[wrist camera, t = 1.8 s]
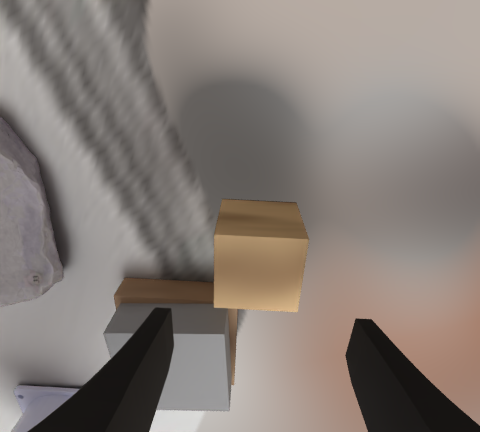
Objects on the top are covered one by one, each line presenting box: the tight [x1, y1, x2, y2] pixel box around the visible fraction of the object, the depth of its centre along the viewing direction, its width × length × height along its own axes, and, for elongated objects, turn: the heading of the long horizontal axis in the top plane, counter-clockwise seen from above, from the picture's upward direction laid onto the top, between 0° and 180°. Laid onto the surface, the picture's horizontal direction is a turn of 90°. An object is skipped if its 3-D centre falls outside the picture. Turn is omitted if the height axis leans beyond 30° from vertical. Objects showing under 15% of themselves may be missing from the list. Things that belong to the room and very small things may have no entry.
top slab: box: [103, 303, 232, 411], centre depth 20 cm, size 7×7×2 cm
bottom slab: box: [114, 278, 238, 385], centre depth 22 cm, size 8×8×2 cm
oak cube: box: [214, 199, 309, 312], centre depth 17 cm, size 4×4×4 cm
